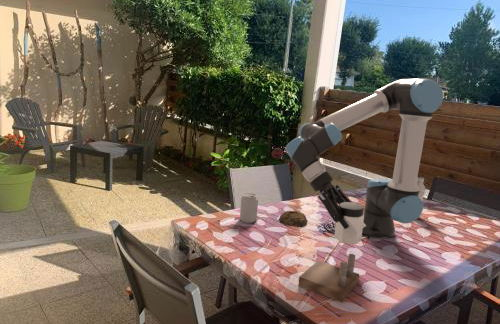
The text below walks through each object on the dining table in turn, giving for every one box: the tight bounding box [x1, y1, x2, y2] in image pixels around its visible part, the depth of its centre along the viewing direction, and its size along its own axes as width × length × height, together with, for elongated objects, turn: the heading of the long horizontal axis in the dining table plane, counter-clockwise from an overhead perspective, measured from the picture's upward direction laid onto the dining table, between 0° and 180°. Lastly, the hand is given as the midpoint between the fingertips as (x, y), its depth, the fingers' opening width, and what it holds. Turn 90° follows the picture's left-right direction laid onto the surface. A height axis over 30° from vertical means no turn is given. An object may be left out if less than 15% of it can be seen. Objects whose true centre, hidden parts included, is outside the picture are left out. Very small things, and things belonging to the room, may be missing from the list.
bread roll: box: [277, 210, 308, 228], centre depth 169 cm, size 13×12×5 cm
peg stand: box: [298, 253, 360, 303], centre depth 116 cm, size 14×14×10 cm
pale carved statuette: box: [416, 176, 426, 219], centre depth 183 cm, size 6×7×20 cm
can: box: [239, 192, 259, 224], centre depth 166 cm, size 8×8×12 cm
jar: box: [333, 201, 365, 245], centre depth 127 cm, size 9×8×12 cm
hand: (358, 231), depth 126 cm, fingers closed on jar, 8 cm apart
